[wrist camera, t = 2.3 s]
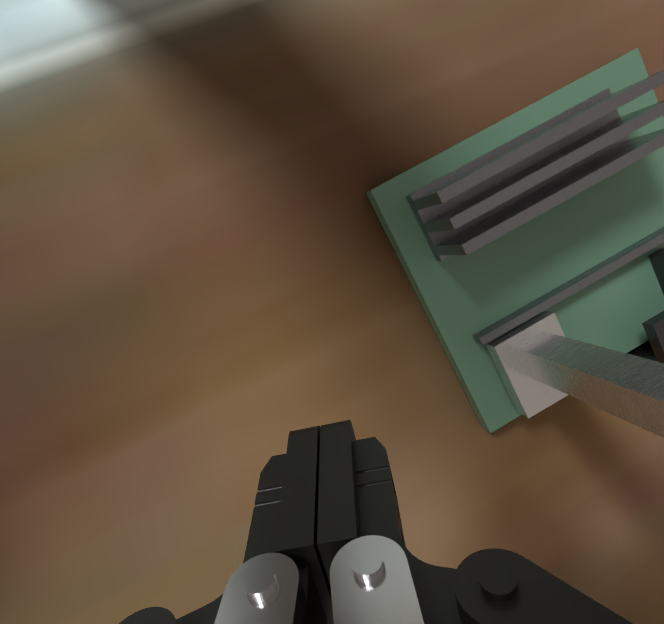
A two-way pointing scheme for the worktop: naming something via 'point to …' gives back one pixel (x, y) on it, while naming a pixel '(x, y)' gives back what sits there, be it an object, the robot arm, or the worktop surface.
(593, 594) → the worktop surface
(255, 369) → the worktop surface
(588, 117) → the heatsink
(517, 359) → the clip lever
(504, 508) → the worktop surface
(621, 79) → the board
